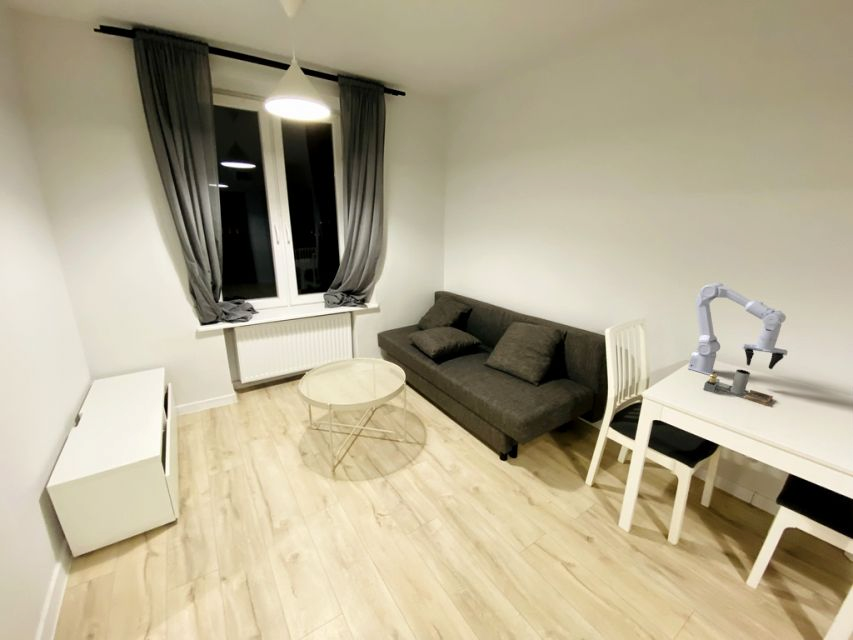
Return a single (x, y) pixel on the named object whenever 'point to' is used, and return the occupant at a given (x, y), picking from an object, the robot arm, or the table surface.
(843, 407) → the table surface
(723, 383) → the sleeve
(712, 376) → the brass knob
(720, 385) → the grey notched block
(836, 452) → the table surface
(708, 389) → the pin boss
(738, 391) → the planter
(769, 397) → the frame
